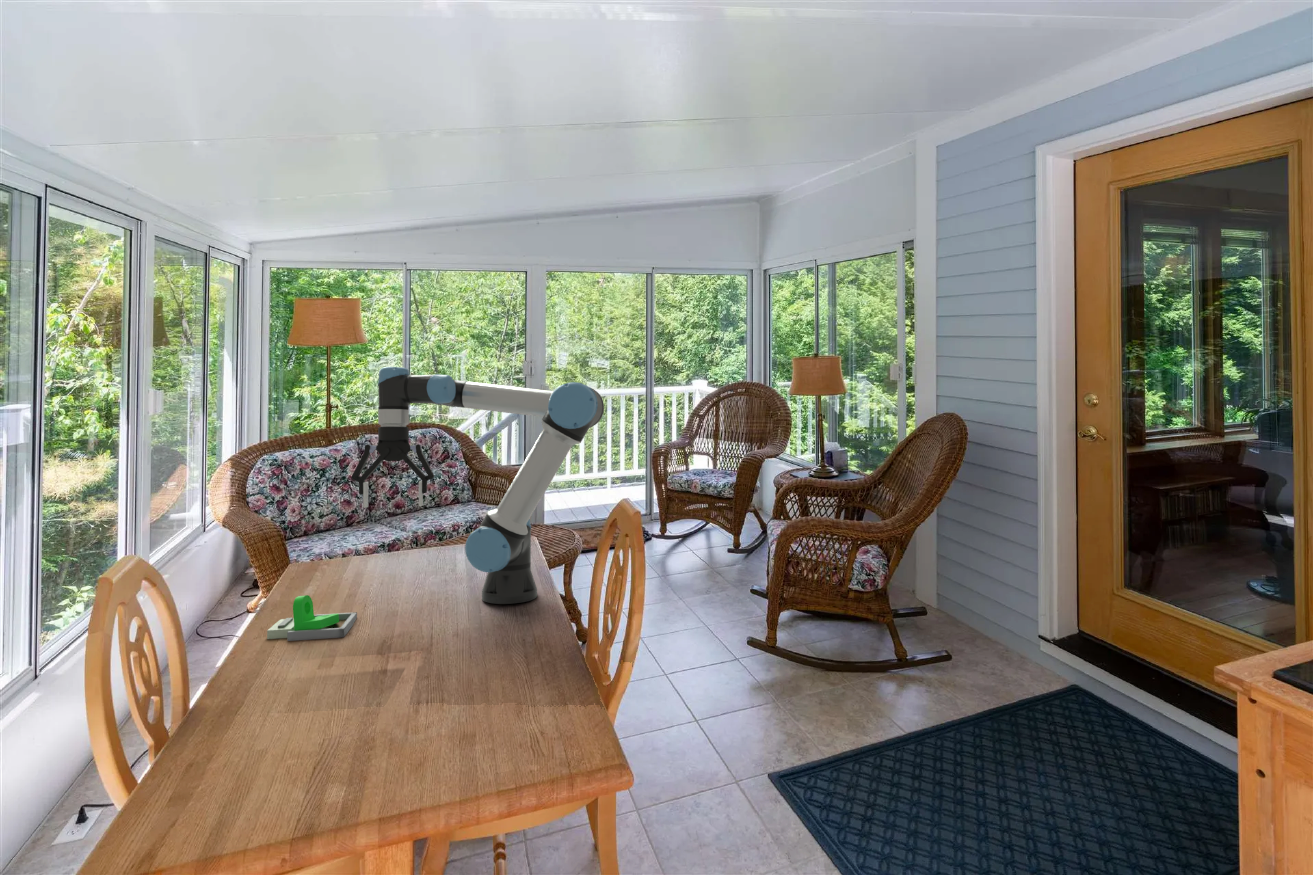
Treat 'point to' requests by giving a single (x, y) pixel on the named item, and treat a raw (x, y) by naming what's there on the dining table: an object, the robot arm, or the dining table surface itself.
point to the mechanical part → (310, 615)
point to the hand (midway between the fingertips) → (393, 506)
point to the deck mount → (286, 630)
